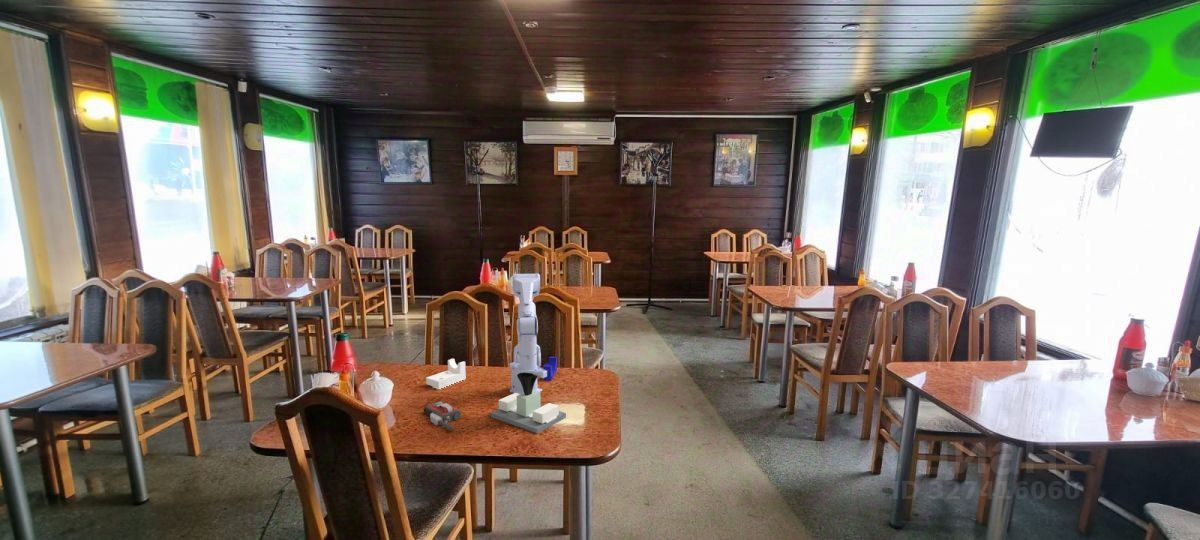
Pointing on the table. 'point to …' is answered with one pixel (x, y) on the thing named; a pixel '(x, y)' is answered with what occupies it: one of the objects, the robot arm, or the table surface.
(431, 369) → the table surface
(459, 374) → the bracket
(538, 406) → the module block
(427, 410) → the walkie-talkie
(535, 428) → the mounting plate
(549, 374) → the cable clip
